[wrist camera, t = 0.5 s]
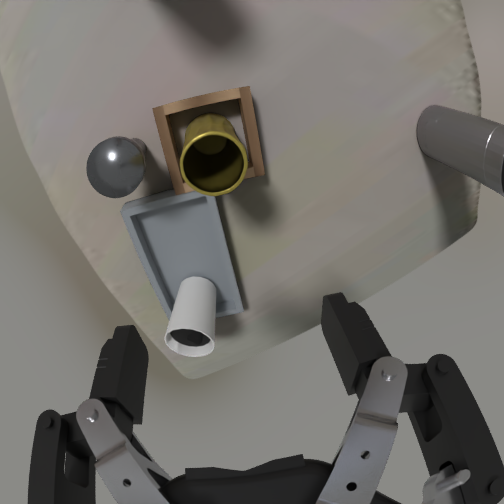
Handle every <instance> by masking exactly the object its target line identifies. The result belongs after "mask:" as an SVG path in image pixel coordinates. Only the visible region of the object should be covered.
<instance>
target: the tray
mask: <svg viewBox="0 0 504 504" xmlns="http://www.w3.org/2000/svg"><path fill="white" fill-rule="evenodd" d="M120 212H121V214H122V217H123V220H124V222H125V225H126V227H127V230H128V232H129V235H130V237H131V239H132V242H133V244H134V247H135V249H136V251H137V254H138V256H139V258H140V260H141V263H142V265H143V267H144V269H145V272H146V274H147V276H148V278H149V280H150V283H151V285H152V287H153V289H154V291H155V293H156V295H157V297H158V299H159V301H160V303H161V305H162V307H163V309H164V311H165V313H166V315H167V317H168V319H169V321H170V317H171V314H172V311H173V307H174V304H175V301H176V297H177V294H178V291H179V288H180V285H181V283H182V281H184V280H185V279H186V278H189V277H193V276H194V277H202V278H205V279H208V280H209V281H211V282H212V283H213V284H214V286H215V287H216V315H215V318H218V317H223V316H227V315H232V314H236V313H240V312H244V309H243V304H242V300H241V296H240V292H239V288H238V284H237V281H236V277H235V273H234V269H233V265H232V261H231V257H230V253H229V249H228V246H227V242H226V238H225V234H224V230H223V226H222V222H221V218H220V213H219V209H218V205H217V201H216V197H215V196H208V195H204V194H201V193H198V192H197V191H191V192H187V193H183V194H180V195H176V194H175V191H174V189H172V190H168V191H164V192H161V193H157V194H154V195H150V196H147V197H143V198H140V199H136V200H133V201H130V202H127V203H125V204H124V206H123V208H122V209H121V211H120Z"/></svg>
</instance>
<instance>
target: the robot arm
mask: <svg viewBox="0 0 504 504" xmlns="http://www.w3.org/2000/svg"><path fill="white" fill-rule="evenodd" d="M417 138H418V142H419V145H420V148H421V149H422V151H423V152H424V153H425V154H426V155H427V156H429V157H431V158H433V159H435V160H437V161H439V162H441V163H443V164H445V165H447V166H449V167H452V168H454V169H455V170H457V171H459V172H461V173H463V174H465V175H467V176H469V177H471V178H473V179H474V180H476V181H478V182H480V183H482V184H483V185H485V186H487V187H489V188H490V189H492V190H494V191H496V192H497V193H499V194H501V195H502V196H504V125H502V124H499V123H497V122H494V121H491V120H488V119H485V118H482V117H479V116H475V115H472V114H469V113H465V112H462V111H458V110H455V109H451V108H447V107H442V106H438V105H433V106H430V107H428V108H426V109H425V110H424V111H423V113H422V114H421V116H420V119H419V121H418V126H417ZM321 325H322V330H323V334H324V336H325V339H326V341H327V344H328V346H329V348H330V351H331V353H332V356H333V358H334V361H335V363H336V366H337V368H338V371H339V373H340V376H341V378H342V381H343V383H344V386H345V388H346V391H347V393H348V395H352V394H355V393H356V394H357V396H358V399H359V401H358V403H357V406H356V408H355V411H354V414H353V416H352V419H351V421H350V424H349V426H348V429H347V431H346V434H345V436H344V438H343V440H342V443H341V445H340V446H339V449H338V451H337V453H336V455H335V457H334V459H333V461H332V463H331V464H329V463H327V462H324V461H319V460H314V459H304V458H303V454H300V455H296V456H291V457H286V458H281V459H275V460H272V461H269V462H267V463H264V464H262V465H259V466H257V467H255V468H251V469H249V470H246V471H238V470H229V469H221V468H215V467H207V468H185V474H183V475H181V476H178V477H176V478H174V479H172V478H171V477H170V476H169V475H168V474H167V473H166V472H165V471H164V470H163V469H162V468H161V467H160V466H159V465H158V464H157V463H156V462H155V460H154V459H153V458H152V457H151V456H150V454H149V453H148V451H147V450H146V449H145V447H144V446H143V445H142V443H141V442H140V441H139V439H138V438H137V436H136V435H135V433H134V432H133V424H142V416H143V405H144V395H145V385H146V377H147V368H148V351H147V348H146V346H145V344H144V342H143V341H142V339H141V337H140V335H139V333H138V331H137V330H136V328H135V326H134V325H127V326H117V327H116V328H115V331H114V335H113V339H108V340H107V342H106V343H105V344H104V346H103V347H102V349H101V353H100V357H99V360H98V364H97V369H96V372H95V376H94V380H93V385H92V389H91V393H90V397H89V399H88V400H86V401H84V402H83V403H82V404H81V405H80V406H79V407H78V409H77V411H76V412H73V413H69V414H65V415H60V414H58V413H57V412H56V411H54V410H46V411H44V412H43V413H42V414H41V415H40V416H39V418H38V420H37V425H36V431H35V436H34V442H33V448H32V456H31V464H30V474H29V487H28V504H96V502H95V470H97V471H98V473H99V475H100V477H101V478H102V480H103V481H104V483H105V485H106V486H107V488H108V489H109V491H110V492H111V494H112V496H113V497H114V498H115V500H116V501H117V503H118V504H401V503H399V502H397V501H395V500H393V499H391V498H389V497H387V496H386V495H384V494H382V493H380V492H378V491H376V489H377V486H378V484H379V481H380V479H381V476H382V474H383V471H384V469H385V466H386V463H387V460H388V457H389V455H390V451H391V449H392V445H393V442H394V439H395V436H396V433H397V429H398V423H397V422H396V421H397V416H398V413H402V412H407V413H408V415H409V418H410V420H411V423H412V426H413V428H414V431H415V434H416V436H417V439H418V442H419V445H420V448H421V450H422V453H423V456H424V459H425V462H426V465H427V468H428V471H429V474H430V477H429V479H428V480H427V481H426V482H425V484H424V487H423V502H422V504H497V503H498V502H499V501H501V499H502V498H503V497H504V466H503V463H502V460H501V458H500V455H499V452H498V450H497V447H496V445H495V442H494V440H493V437H492V435H491V433H490V430H489V428H488V426H487V424H486V422H485V419H484V417H483V415H482V413H481V411H480V409H479V407H478V404H477V402H476V400H475V398H474V396H473V394H472V392H471V390H470V389H469V387H468V385H467V383H466V381H465V379H464V377H463V376H462V374H461V372H460V370H459V368H458V366H457V365H456V363H455V361H454V360H453V359H452V358H451V357H449V356H447V355H444V354H437V355H434V356H432V357H431V358H430V359H429V361H428V362H427V363H424V364H404V363H403V362H402V361H401V360H400V359H398V358H395V357H392V356H391V354H390V353H389V351H388V349H387V348H386V345H385V344H384V342H383V340H382V338H381V337H380V335H379V333H378V332H377V330H376V328H375V327H374V325H373V323H372V321H371V320H370V318H369V316H368V314H367V313H366V311H365V309H364V308H362V307H361V306H360V305H359V304H357V303H356V302H351V303H348V302H347V300H346V298H345V296H344V295H343V293H341V292H340V293H335V294H330V295H325V296H324V297H323V306H322V318H321ZM65 453H66V461H65ZM96 460H97V461H96ZM64 464H65V474H64Z"/></svg>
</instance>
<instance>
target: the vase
mask: <svg viewBox="0 0 504 504" xmlns="http://www.w3.org/2000/svg"><path fill="white" fill-rule="evenodd" d="M247 168H248V160H247V153H246V149H245V147H244V145H243V144H242V143H241V142H240V141H239V139H238V138H237V136H236V135H235V132H234V128H233V126H232V124H231V123H230V122H229V121H228V120H227V119H226V118H225V117H223V116H221V115H218V114H214V113H207V114H203V115H200V116H198V117H196V118H195V119H194V120H192V122H191V123H190V124H189V125H188V127H187V129H186V133H185V142H184V147H183V151H182V154H181V157H180V170H181V174H182V177H183V179H184V181H185V182H186V183H187V184H188V185H189V187H191V188H192V189H194V190H195V191H197V192H198V193H201V194H204V195H208V196H219V195H223V194H227V193H229V192H231V191H233V190H234V189H235V188H237V187H238V186H239V185H240V183H241V182H242V181H243V179H244V177H245V174H246V171H247Z"/></svg>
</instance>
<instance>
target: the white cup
mask: <svg viewBox="0 0 504 504" xmlns="http://www.w3.org/2000/svg"><path fill="white" fill-rule="evenodd" d="M215 315H216V287H215V286H214V284H213V283H212V282H211V281H209V280H208V279H205V278H202V277H194V276H193V277H189V278H186V279H185V280H184V281H182V283H181V285H180V288H179V291H178V294H177V297H176V301H175V304H174V307H173V311H172V314H171V317H170V321H169V324H168V328H167V331H166V335H165V338H164V339H165V342H166V345H167V346H168V347H169V348H170V349H171V350H173V351H175V352H176V353H178V354H181V355H185V356H190V357H199V356H205V355H207V354H209V353H211V352H212V351H213V349H214V346H215Z"/></svg>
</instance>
